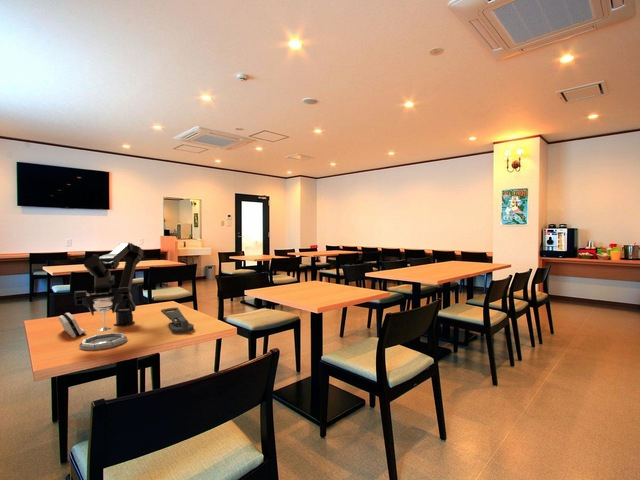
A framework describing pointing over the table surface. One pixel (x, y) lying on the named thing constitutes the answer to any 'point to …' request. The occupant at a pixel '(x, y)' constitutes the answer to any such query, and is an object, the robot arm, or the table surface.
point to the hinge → (70, 325)
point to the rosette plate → (103, 341)
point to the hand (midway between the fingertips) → (103, 313)
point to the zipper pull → (177, 321)
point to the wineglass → (103, 309)
